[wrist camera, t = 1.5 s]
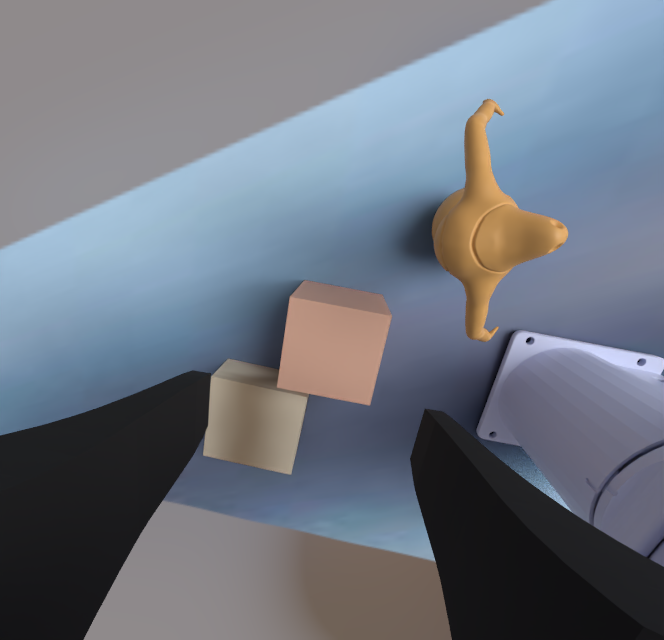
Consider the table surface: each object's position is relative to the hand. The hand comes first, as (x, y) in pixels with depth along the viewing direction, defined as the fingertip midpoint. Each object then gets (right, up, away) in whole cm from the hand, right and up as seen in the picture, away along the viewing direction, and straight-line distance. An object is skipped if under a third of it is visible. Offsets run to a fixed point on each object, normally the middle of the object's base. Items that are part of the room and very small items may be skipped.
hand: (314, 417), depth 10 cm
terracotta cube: (+1, +3, +10) cm, 11 cm away
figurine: (+7, +9, +8) cm, 14 cm away
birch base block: (-4, -3, +12) cm, 13 cm away
